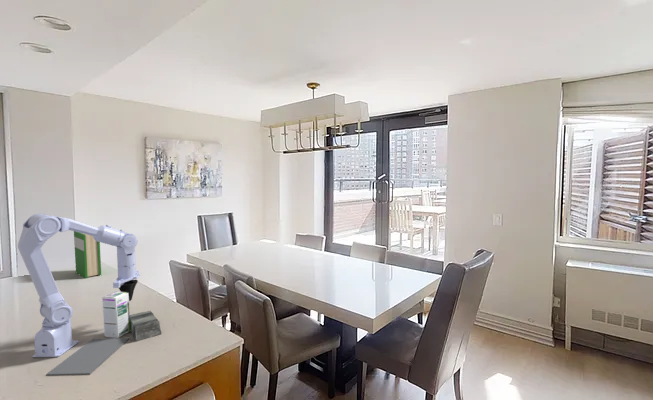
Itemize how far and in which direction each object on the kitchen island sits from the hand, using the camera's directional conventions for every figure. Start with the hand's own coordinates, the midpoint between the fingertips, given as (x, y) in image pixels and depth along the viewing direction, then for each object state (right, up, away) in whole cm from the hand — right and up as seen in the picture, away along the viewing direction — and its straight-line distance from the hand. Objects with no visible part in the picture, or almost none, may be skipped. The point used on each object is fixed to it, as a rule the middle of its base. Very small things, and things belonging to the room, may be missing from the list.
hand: (128, 300), depth 126 cm
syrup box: (0, -10, -7) cm, 12 cm away
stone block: (+9, -10, -4) cm, 14 cm away
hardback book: (-61, -5, +65) cm, 89 cm away
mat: (+1, -11, -21) cm, 24 cm away
